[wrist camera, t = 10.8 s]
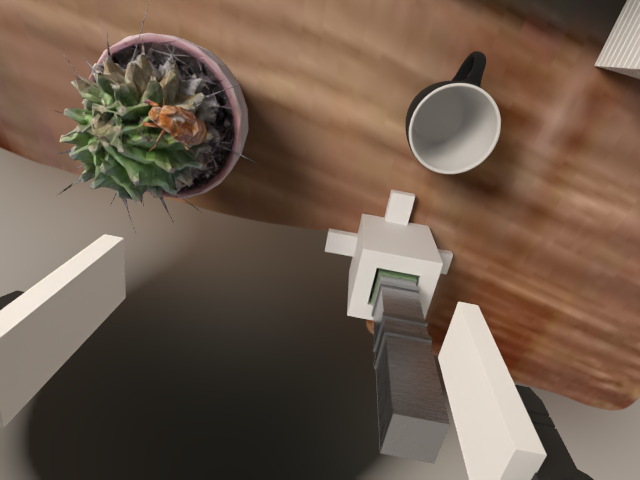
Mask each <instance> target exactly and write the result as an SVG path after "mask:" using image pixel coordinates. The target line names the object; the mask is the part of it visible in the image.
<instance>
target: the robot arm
mask: <svg viewBox="0 0 640 480" xmlns="http://www.w3.org/2000/svg"><path fill="white" fill-rule="evenodd" d="M124 299H125V264H124V238H121V237H116V236H110V235H105V234H104V235H103V236H101V237H100V238H99V239H97V240H96V241H95V242H93V243H92V244H91V245H89V246H88V247H86V248H85V249H84V250H82V251H81V252H80V253H78V254H77V255H75V256H74V257H73V258H71V259H70V260H69V261H67V262H66V263H64V264H63V265H62V266H60V267H59V268H58V269H56V270H55V271H54V272H52V273H51V274H49V275H48V276H47V277H45V278H44V279H43V280H41V281H40V282H39V283H37V284H36V285H34V286H33V287H32V288H30V289H29V290H28V291H26V292H21V291H15V292H12V293H10V294H7V295H5V296H2V297H0V427H5V426H6V425H7V424H8V423H9V421H11V420H12V418H13V417H14V416H15V415H16V414H17V413H18V412H19V411H20V410H21V409H22V408H23V407H24V405H26V403H27V402H28V401H29V400H30V399H31V398H32V397H33V396H34V395H35V394H36V393H37V392H38V391H39V390H40V389H41V387H42V386H43V385H44V384H45V383H46V382H47V381H48V380H49V379H50V378H51V377H52V376H53V375H54V373H55V372H56V371H57V370H58V369H59V368H60V367H61V366H62V365H63V364H64V363H65V362H66V361H67V360H68V358H70V356H71V355H72V354H73V353H74V352H75V351H76V350H77V349H78V348H79V347H80V346H81V345H82V344H83V343H84V341H85V340H86V339H87V338H88V337H89V336H90V335H91V334H92V333H93V332H94V331H95V330H96V329H97V328H98V326H99V325H100V324H101V323H102V322H103V321H104V320H105V319H106V318H107V317H108V316H109V315H110V314H111V313H112V312H113V310H114V309H115V308H116V307H117V306H118V305H119V304H120V303H121V302H122V301H123V300H124ZM438 359H439V363H440V367H441V371H442V374H443V379H444V383H445V386H446V390H447V394H448V398H449V402H450V406H451V410H452V414H453V418H454V421H455V426H456V429H457V433H458V438H459V441H460V446H461V449H462V453H463V457H464V461H465V465H466V469H467V473H468V477H469V480H593V479H592V478H591V477H590V476H589V475H587V474H585V473H583V472H582V471H580V470H578V469H577V468H576V466H575V464H574V462H573V460H572V458H571V456H570V454H569V453H568V450H567V449H566V446H565V445H564V443H563V441H562V439H561V437H560V435H559V433H558V431H557V429H555V425H554V423H553V421H552V420H551V418H550V417H549V414H548V412H547V410H546V408H545V406H544V404H543V402H542V400H541V399H540V398H539V397H538V396H537V395H536V394H535V393H534V392H533V391H532V390H531V389H530V388H529V387H524V386H519V385H514V382H513V380H512V378H511V376H510V374H509V372H508V369H507V367H506V365H505V363H504V361H503V359H502V356H501V354H500V352H499V350H498V348H497V346H496V343H495V341H494V339H493V337H492V335H491V332H490V330H489V328H488V326H487V324H486V322H485V319H484V317H483V315H482V313H481V311H480V309H479V306H478V305H474V304H469V303H464V302H458V304H457V307H456V309H455V312H454V315H453V318H452V320H451V323H450V326H449V329H448V331H447V334H446V337H445V340H444V342H443V345H442V348H441V351H440V354H439V356H438Z"/></svg>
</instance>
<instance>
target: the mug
mask: <svg viewBox="0 0 640 480" xmlns="http://www.w3.org/2000/svg"><path fill="white" fill-rule="evenodd" d="M485 65H486V57H485V55H484V54H483V53H481V52H476V51H475V52H473V53H471V54H470V55H469V56H468V57H467V58H466V60H465V61H464V63H463V64H462V66H461V67H460V69H459V71H458V72H457V74H456V75H455V77H454V78H453V79H452V80H451V81H444V82H439V83H436V84H433V85H431V86H429V87H427V88H425V89H424V90H422V91H421V92H420V93H419V94H418V95H417V96H416V97H415V98H414V100H413V101H412V103H411V105H410V107H409V109H408V112H407V116H406V135H407V140H408V143H409V146H410V148H411V151H412V152H413V154H414V156H415V157H416V159H417V160H418V161H419V162H420V163H421V164H422V165H424V166H425V167H426V168H428V169H430V170H432V171H434V172H437V173H441V174H458V173H463V172H466V171H468V170H471V169H473V168H474V167H476V166H478V165H479V164H480V163H482V162H483V161H484V160H485V159H486V158H487V157H488V156H489V155H490V153H491V152H492V151H493V149H494V147H495V146H496V144H497V141H498V139H499V135H500V130H501V117H500V112H499V109H498V107H497V105H496V103H495V101H494V99H493V98H492V97H491V96H490V95H489V94H488V93H487V92H486V91H485V90H483V89H482V88H481V86H480V83H481V78H482V75H483V72H484V69H485ZM470 71H471V72H470ZM469 73H470V74H469ZM468 75H469V76H468ZM467 76H468V77H467Z"/></svg>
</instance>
